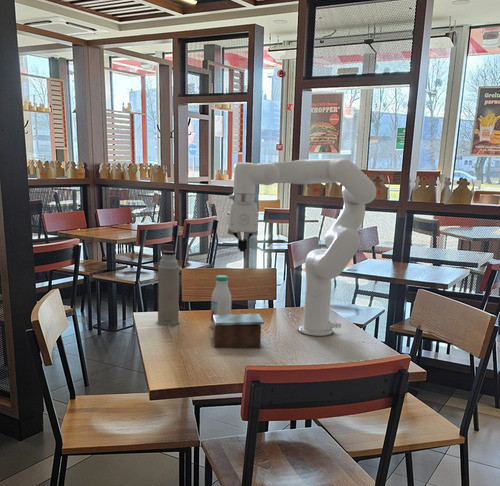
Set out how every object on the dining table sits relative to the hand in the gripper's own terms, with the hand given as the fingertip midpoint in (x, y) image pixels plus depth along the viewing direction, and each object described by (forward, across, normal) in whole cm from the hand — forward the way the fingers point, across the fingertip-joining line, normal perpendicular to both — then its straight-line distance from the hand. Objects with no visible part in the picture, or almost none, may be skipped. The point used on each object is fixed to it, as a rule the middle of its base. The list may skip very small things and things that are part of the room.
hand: (242, 251), depth 204 cm
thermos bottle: (+31, -26, +16) cm, 44 cm away
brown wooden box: (+31, -2, -10) cm, 33 cm away
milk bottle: (+31, -6, +10) cm, 33 cm away
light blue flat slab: (+23, -2, -10) cm, 25 cm away
